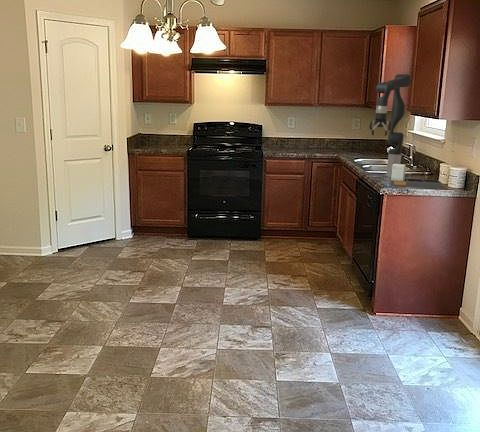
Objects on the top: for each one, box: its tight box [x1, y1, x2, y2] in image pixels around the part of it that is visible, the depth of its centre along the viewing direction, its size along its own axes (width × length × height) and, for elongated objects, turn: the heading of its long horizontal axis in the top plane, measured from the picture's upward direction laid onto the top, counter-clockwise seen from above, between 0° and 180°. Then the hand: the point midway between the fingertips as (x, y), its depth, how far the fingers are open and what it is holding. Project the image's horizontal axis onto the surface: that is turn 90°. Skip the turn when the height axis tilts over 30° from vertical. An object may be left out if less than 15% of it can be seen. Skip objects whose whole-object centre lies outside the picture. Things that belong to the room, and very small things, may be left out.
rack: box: [387, 177, 443, 190], centre depth 354 cm, size 12×34×4 cm, turn 83°
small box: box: [390, 163, 407, 181], centre depth 354 cm, size 8×6×13 cm
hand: (379, 135), depth 363 cm, fingers open, 8 cm apart
